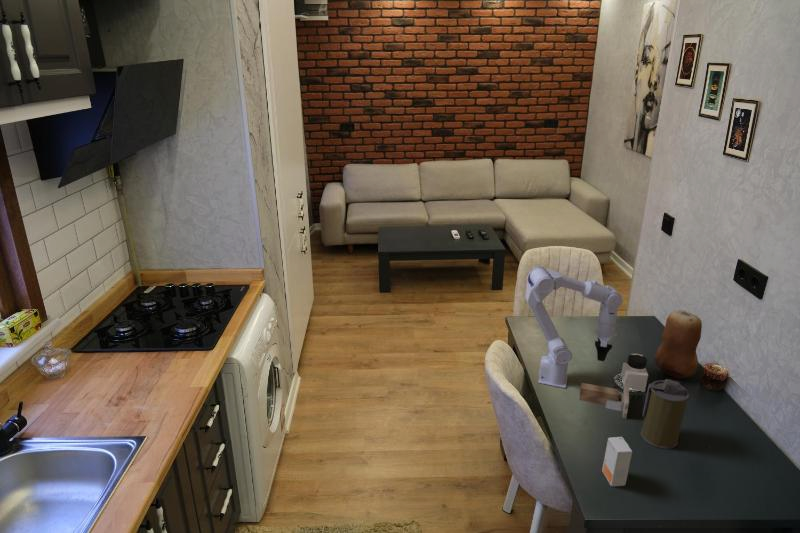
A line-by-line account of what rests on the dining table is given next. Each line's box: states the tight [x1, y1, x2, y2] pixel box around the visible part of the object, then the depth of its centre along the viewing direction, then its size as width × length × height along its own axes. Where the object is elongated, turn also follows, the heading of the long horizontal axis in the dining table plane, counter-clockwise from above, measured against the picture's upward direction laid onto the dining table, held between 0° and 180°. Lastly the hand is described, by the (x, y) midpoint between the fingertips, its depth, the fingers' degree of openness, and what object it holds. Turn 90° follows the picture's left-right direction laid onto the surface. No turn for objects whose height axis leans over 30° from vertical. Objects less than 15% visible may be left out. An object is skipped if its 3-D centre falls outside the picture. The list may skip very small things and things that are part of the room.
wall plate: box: [622, 380, 630, 420], centre depth 178 cm, size 1×14×6 cm, turn 158°
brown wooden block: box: [578, 382, 620, 406], centre depth 181 cm, size 12×3×5 cm, turn 71°
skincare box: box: [601, 436, 633, 487], centre depth 147 cm, size 6×4×12 cm
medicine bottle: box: [620, 353, 649, 393], centre depth 188 cm, size 7×7×12 cm
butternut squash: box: [653, 309, 703, 380], centre depth 193 cm, size 14×13×25 cm
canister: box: [640, 378, 690, 450], centre depth 161 cm, size 11×10×20 cm
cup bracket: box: [605, 391, 624, 412], centre depth 180 cm, size 5×7×3 cm
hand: (601, 355), depth 190 cm, fingers open, 7 cm apart
